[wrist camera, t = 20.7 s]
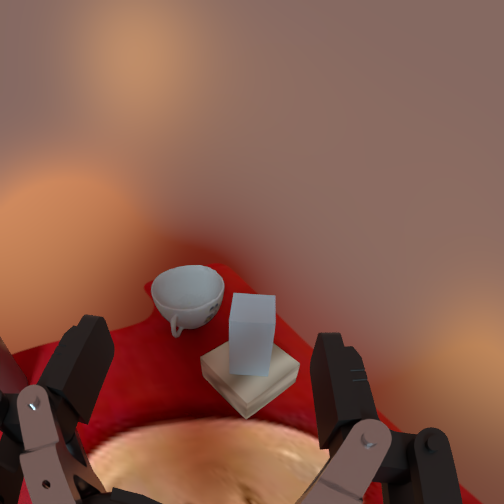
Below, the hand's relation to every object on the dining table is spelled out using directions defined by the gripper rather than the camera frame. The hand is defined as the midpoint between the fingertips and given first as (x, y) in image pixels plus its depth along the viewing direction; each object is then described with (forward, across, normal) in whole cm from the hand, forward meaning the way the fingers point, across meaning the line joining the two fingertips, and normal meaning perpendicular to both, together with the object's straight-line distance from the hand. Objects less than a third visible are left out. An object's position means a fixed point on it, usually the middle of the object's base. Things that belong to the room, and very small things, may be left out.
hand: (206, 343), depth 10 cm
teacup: (+31, +9, +30) cm, 44 cm away
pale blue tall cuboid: (+20, -2, +25) cm, 32 cm away
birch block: (+19, -2, +30) cm, 36 cm away
